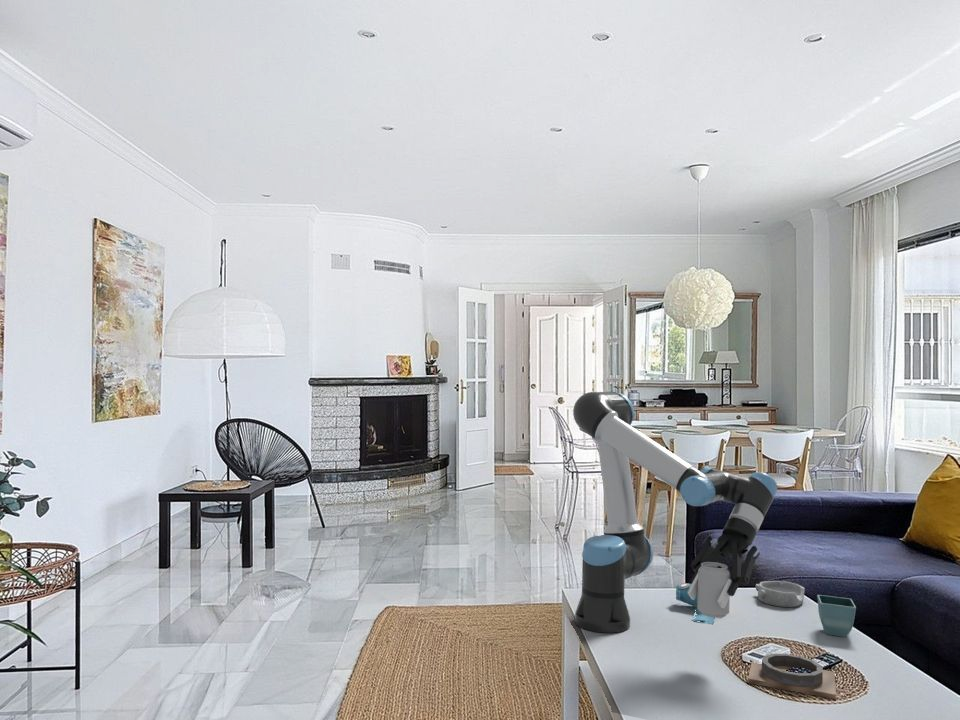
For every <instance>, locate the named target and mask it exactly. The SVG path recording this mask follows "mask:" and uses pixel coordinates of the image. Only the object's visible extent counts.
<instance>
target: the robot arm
mask: <svg viewBox="0 0 960 720" xmlns="http://www.w3.org/2000/svg"><path fill="white" fill-rule="evenodd" d="M631 401H632V400H630V399H629V398H628V397H627V396H626V395H625V394H623V393H620V392H615V391H591V392H587V393H584V394H582V395H581V396H579V397H578V399H577V400H576V401H575V403H574V406H573V410H572V412H573V413H572V415H573V419H574V421H575V422H574V423H576V425H577V426H578V427H579V428H580V430H582V431H583V432H584V433H585V434H587V435H588V436H590V437H591V439H592V440H593V442H595V443H597V448H598V456H599V464H600V471H601V478H602V479H601V480H602V487H603V495H604V503H605V510H606V519H607V520H606V521H607V526H606V527H605V528H604V530H603V534H601V535H593V536H590V537H589V538H587V539H586V540H585V541H584V543H583V547H582V548H583V549H582V551H581V552H582V553H581V554H582V555H581V557H582V560H581V561H582V567H581V568H582V570H581V572H582V573H581V575H582V576H581V579H582V580H581V595H580V598H579V601H578V604H577V607H576V609H575V613H574V623H575V624H576V625H577V626H578V627H580V628H582V629H583V630H587V631H591V632H596V633H607V634H608V633H609V634H610V633H611V634H612V633H620V632H624V631H627V630H628V629H630V627H631V616H630V612H629V609H628V606H627V603H626V600H625V580H627V579H629V578H632V577H635V576H638V575H641V574H642V573H643V572H644V571H646V570H647V569H648V568H649V567H650V566H651V563H652V561H653V559H654V548H653V544H652V542H651V540H650V539H649V538H647V536H646V535H645V530H644V529H645V528H644V526H642V525H641V524H640V523H639V522H638V516H637V509H636V502H635V494H634V486H633V481H632V480H633V478H632V472H631V465H630V460H632V461H633V462H634V463H636V464H637V465H639V466H641V467H642V468H643V469H645V470H646V471H648V472H650V473H651V474H652V475H654V476H656V477H657V479H658V478H659V480H661V481H662V482H664V483H665V484H667V485H668V486H670V487H671V488H673V489H674V490H676V491H677V492H678V493H680V496H681V498H682V499H683V501H684V502H685V504H688V505H689V506H692V507H703V506H708V505H709V504H712V503H715V502H718V501H723V502H727V503H730V504H733V505H734V507H733V508H732V511H731V513H730V515H729V517H728V519H727V521H726V523H725V525H724V527H723V528H722V532H721V535H720V536H719V537H717V538H713V537H712V536H710V535H709V536H707V537H706V539H705V544H704V545H703V546H702V548H701V549H700V551H699V552H698V553H697V555H696V556H695V557H694V559H693V560H692V562H691V563H690V567H691V569H692V570H693V575H692V577H691V580H690V583H691V584H692V585H691V587H690V589H689V591H688V595H689V596H690V598H691V599H692V600H695V598H696V596H697V594H698V569H699V568H700V567H701V566H702V565H701V563H703V562H717V563H719V562H720V560H723V559H725V558H732V572H731V576H730V579H728V580H727V582H726V584H725V586H724V588H723V590H722V592H721V595H720V597H719V599H718V601H717V602H718V603H719V605H720V607H721V608H723V609H724V608H725V606H726V604H727V602H728V600H729V598H730V599H731V597H733V596H735V594H736V592H737V589H738V588H739V587H740V586H742V585H743V586H748V585H749V583H750V579H751V577H752V573H753V569H754V566H755V563H756V560H757V559H758V557H759V556H760V555H761V554H760V551H759V549H758V548H757V546H756V545H752V544H753V542H754V539H755V538H756V536H757V532H758V531H759V530H760V527H761V525H762V524H763V521H764V519H765V516H766V515H767V512H768V510H769V509H770V506H771V505H772V503H773V501H774V500H775V499H774V498H775V495H776V492H777V491H778V484H777V481H776V480H775V479H774V478H773V477H772V476H770V474H767V473H765V472H761V471H759V472H753V473H751V474H750V475H749V477H745V476H739V475H736V474H733V473H729V472H727V471H724V470H721V469H718V468H712V467H710V466H709V467H708V466H704V467H702V468H701V469H700V470H699V469H697V468H696V467H694V466H693V465H692V464H690V463H688V462H687V461H686V460H684V459H682V458H681V457H679V456H678V455H676V454H675V453H673V452H672V451H670V450H668V449H667V448H666V447H664V446H662V445H661V444H660V443H658V442H657V441H654V440H653V439H652V438H651V437H649V436H647V435H645V433H643V432H641V431H639V430H638V429H636V428H635V427H634V426H631V425H632V423H633V422H634V419H635V409H634V406H633V405H634V404H633V403H632V402H631ZM744 554H746V556H745V560H744V563H743V555H744ZM742 563H743V566H742Z"/></svg>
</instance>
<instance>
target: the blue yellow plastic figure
mask: <svg viewBox="0 0 960 720" xmlns="http://www.w3.org/2000/svg"><path fill="white" fill-rule="evenodd" d="M691 585H692V583H691V582H686V583H685V582H684V583H681V584H677V585H676V587H675V598H676V601H679V602H682V603H684V604H688V605H689V606H692V607H694V611H695V610H696V611H695V612H696V614H697V615H695V617H696V618H695V617H694V618H695V619H693V618H692V619H691V620H690V621H691V622H692V621H694V622H696V621H700V622H702V623H701V624H706V623H708V625H713V624H714V623H715V619H716V618H714V617H708V616H705V615H703V614H701V613H700V611H699V610H698V609H697V597H698V594H697V596H696V598H695V600H692V599H691V598H690V596H689V595H688V591H689V589H690V587H691ZM694 611H693V612H694ZM700 622H699V623H700Z"/></svg>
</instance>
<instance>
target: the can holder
mask: <svg viewBox="0 0 960 720" xmlns="http://www.w3.org/2000/svg"><path fill="white" fill-rule="evenodd" d="M761 659H762V664H757V663H754V662H752V661H751V664H750V667H749V668H750V669H749V672H748V676H747V684H752V685H757V686H758V685H759V686H763V687H769V688H772V689H773V688H774V689H779V690H783V689H784V691H789V690H790V692H794V691H795V693H799V692H801V693H800V694H805V693H806V694H807V695H810V696H811V695H812V696H817V697H822V698H827V699H832V700H837V691H836V690H837V689H836V676H835V671H831V670H827V669H823V668H824V667H823V666H822V665H821V664H819V663H818V662H816V661H815V660H813V659H809V658H807V657H804V656H801V655H795V654H789V653H769V654H767V655H766V654H765V655H763V656H762V658H761ZM792 667H802V668H805V669H808V670H810V671H811V673H793V672H788V671H786V670H788V669H790V668H792Z"/></svg>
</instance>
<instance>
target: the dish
mask: <svg viewBox="0 0 960 720" xmlns="http://www.w3.org/2000/svg"><path fill="white" fill-rule="evenodd" d="M755 590H756V591H757V598H758V600H759V601H760V602H762V603H764V604H767V605H771V606H776V607H783V608H795V607H799V606H801V605H802V604H803V603H804V599H805V594H806V588H805V587H804V586H802V585H800V584H798V583H795V582H794V583H793V582H790V581H785V580H784V581H780V580H769V581H760V582H759V583H756V584H755Z"/></svg>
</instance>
